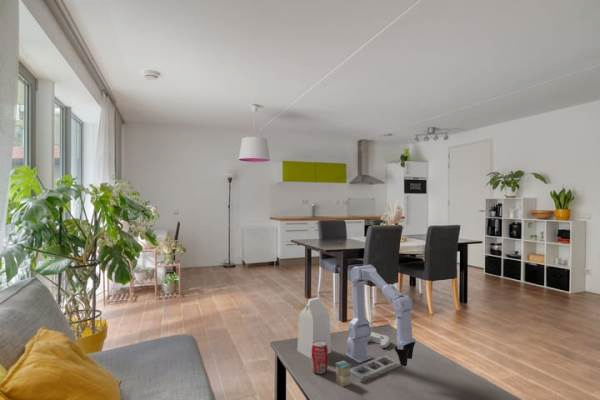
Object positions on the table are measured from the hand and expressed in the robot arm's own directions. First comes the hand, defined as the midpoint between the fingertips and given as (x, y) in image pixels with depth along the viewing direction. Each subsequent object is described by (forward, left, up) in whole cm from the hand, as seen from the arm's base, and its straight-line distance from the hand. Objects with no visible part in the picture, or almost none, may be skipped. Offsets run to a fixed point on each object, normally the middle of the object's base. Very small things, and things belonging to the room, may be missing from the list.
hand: (406, 361), depth 136 cm
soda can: (-29, -21, -10) cm, 38 cm away
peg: (-16, -19, -10) cm, 27 cm away
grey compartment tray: (-16, -1, -10) cm, 19 cm away
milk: (-45, -12, -10) cm, 48 cm away
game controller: (-35, +21, -11) cm, 42 cm away
